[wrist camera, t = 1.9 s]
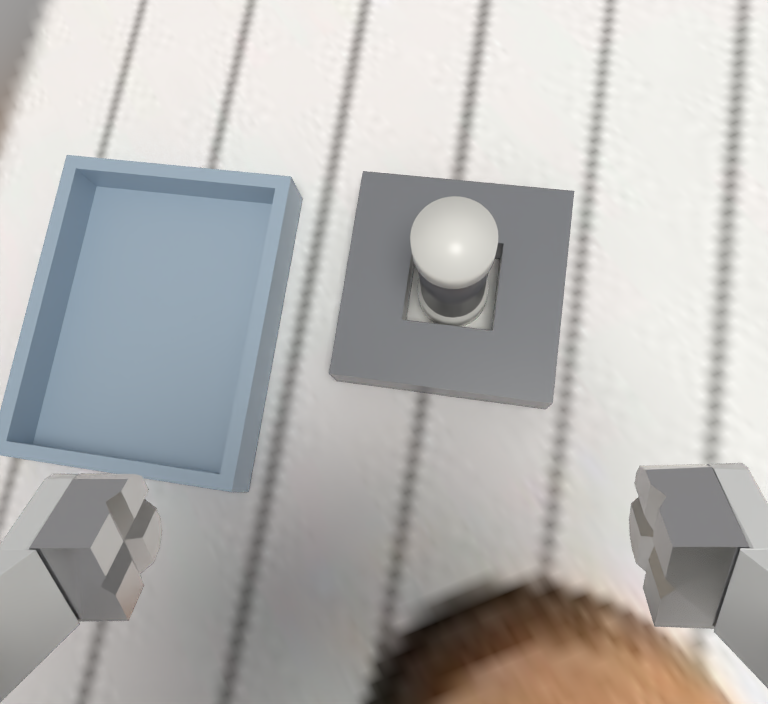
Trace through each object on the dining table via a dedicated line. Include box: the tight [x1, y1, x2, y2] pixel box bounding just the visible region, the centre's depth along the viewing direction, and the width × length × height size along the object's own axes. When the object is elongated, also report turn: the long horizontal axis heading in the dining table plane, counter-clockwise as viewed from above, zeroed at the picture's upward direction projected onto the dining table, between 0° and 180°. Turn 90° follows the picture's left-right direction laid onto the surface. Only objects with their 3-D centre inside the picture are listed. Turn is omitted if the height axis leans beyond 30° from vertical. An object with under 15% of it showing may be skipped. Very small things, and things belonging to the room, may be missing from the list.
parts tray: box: [0, 155, 302, 492], centre depth 39 cm, size 18×14×3 cm
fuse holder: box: [329, 171, 574, 409], centre depth 38 cm, size 12×12×2 cm
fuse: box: [410, 196, 498, 327], centre depth 34 cm, size 4×4×9 cm
